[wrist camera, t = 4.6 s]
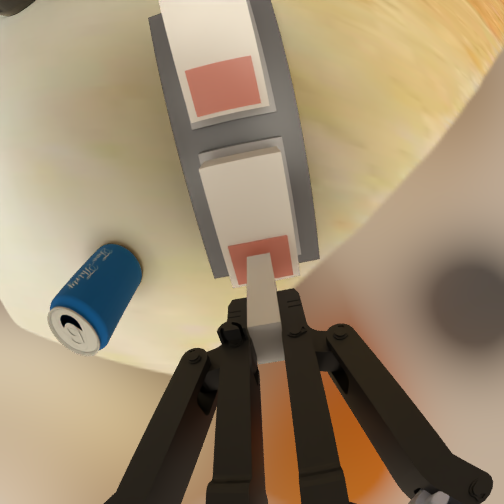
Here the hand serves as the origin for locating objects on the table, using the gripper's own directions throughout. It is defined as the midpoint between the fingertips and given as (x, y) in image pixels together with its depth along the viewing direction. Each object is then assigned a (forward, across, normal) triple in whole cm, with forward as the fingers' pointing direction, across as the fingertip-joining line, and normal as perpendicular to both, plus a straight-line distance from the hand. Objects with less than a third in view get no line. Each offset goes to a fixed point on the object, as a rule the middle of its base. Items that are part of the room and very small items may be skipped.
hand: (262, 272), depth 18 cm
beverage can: (+11, -17, -2) cm, 20 cm away
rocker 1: (+4, 0, +15) cm, 16 cm away
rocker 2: (+4, 0, +3) cm, 5 cm away
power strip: (+11, 0, +12) cm, 16 cm away
